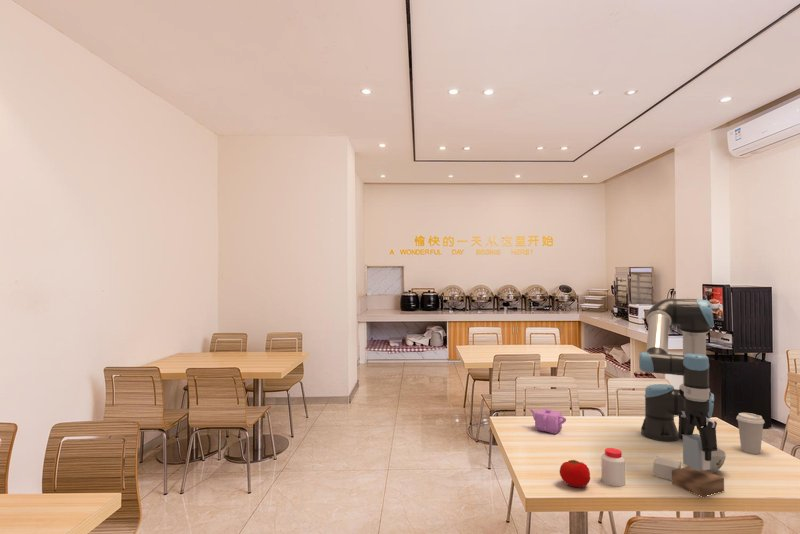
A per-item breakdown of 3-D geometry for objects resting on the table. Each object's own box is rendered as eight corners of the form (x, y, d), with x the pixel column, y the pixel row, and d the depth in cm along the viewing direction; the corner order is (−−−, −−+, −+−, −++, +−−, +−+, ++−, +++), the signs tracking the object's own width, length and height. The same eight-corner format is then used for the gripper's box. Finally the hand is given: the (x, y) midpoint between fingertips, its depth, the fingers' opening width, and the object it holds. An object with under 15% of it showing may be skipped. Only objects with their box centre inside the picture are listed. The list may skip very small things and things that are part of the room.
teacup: (734, 474, 170) (734, 453, 170) (710, 479, 166) (710, 457, 166) (696, 459, 184) (695, 439, 184) (673, 463, 180) (673, 443, 180)
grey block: (653, 476, 169) (653, 462, 169) (656, 469, 175) (656, 455, 175) (678, 482, 164) (678, 468, 164) (681, 474, 170) (680, 461, 170)
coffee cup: (770, 456, 188) (769, 419, 188) (744, 454, 190) (743, 418, 190) (757, 447, 197) (756, 412, 197) (732, 446, 199) (731, 411, 199)
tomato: (595, 490, 157) (595, 466, 157) (566, 491, 156) (566, 466, 156) (582, 478, 166) (582, 455, 166) (555, 479, 165) (555, 456, 165)
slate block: (683, 463, 162) (682, 435, 162) (696, 461, 163) (696, 433, 163) (697, 470, 156) (697, 441, 156) (712, 468, 157) (711, 439, 158)
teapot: (523, 430, 219) (523, 409, 219) (533, 422, 230) (533, 402, 230) (562, 438, 208) (562, 415, 208) (570, 430, 219) (570, 408, 220)
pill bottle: (597, 477, 167) (597, 446, 168) (617, 476, 168) (617, 446, 168) (608, 486, 160) (608, 455, 160) (629, 486, 160) (629, 454, 161)
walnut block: (671, 484, 162) (671, 470, 162) (692, 479, 167) (692, 465, 167) (702, 498, 152) (702, 483, 152) (724, 492, 156) (723, 477, 157)
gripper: (665, 392, 168) (666, 456, 168) (712, 406, 150) (713, 478, 149) (682, 391, 170) (682, 454, 170) (730, 405, 152) (731, 475, 151)
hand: (697, 465), depth 159 cm, fingers closed on slate block, 6 cm apart
